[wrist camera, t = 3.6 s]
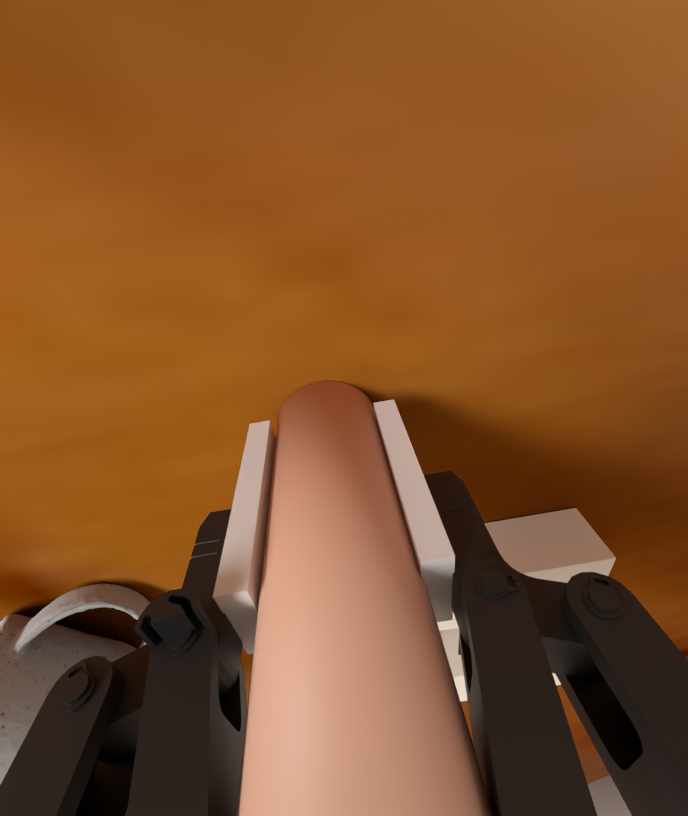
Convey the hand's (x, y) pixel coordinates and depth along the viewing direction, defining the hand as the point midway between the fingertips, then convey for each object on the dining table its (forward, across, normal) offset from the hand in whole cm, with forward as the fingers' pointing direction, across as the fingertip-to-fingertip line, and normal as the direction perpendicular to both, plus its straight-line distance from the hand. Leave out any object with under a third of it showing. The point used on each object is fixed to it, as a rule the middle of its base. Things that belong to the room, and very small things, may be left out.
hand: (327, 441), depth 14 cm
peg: (+1, 0, 0) cm, 1 cm away
